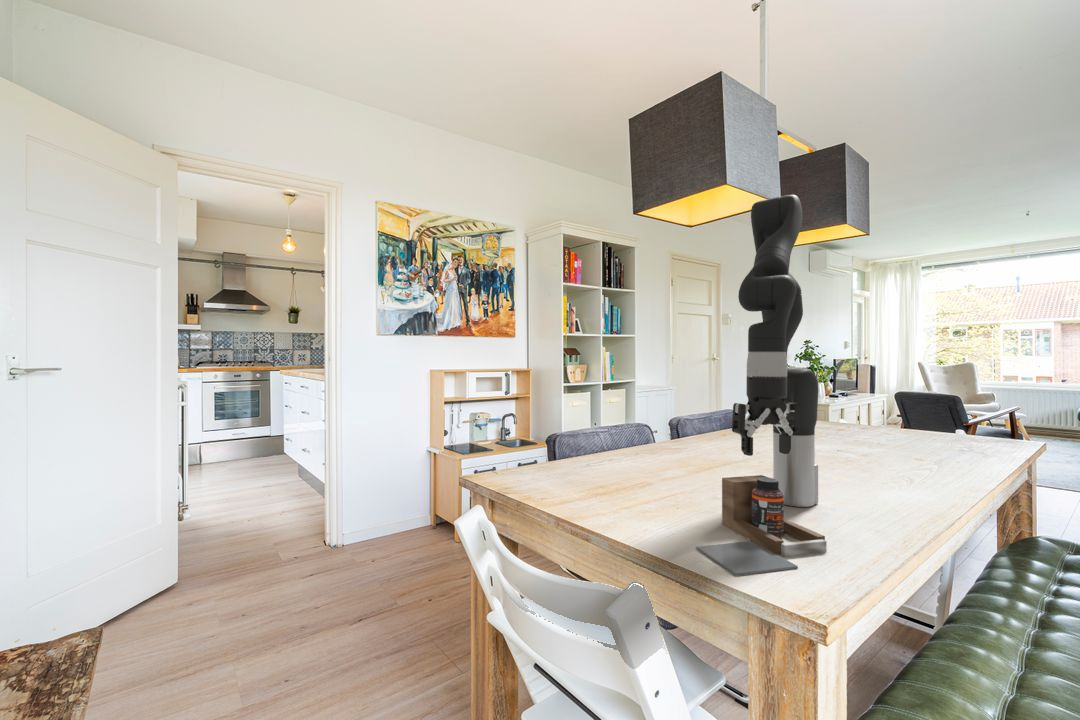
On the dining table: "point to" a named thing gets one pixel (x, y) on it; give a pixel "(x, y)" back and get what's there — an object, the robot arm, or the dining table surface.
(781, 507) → the supplement bottle
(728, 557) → the plate
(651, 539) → the dining table surface
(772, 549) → the dispenser
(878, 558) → the dining table surface
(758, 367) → the robot arm
